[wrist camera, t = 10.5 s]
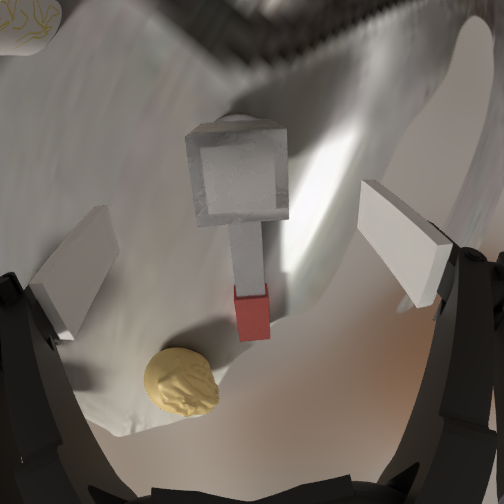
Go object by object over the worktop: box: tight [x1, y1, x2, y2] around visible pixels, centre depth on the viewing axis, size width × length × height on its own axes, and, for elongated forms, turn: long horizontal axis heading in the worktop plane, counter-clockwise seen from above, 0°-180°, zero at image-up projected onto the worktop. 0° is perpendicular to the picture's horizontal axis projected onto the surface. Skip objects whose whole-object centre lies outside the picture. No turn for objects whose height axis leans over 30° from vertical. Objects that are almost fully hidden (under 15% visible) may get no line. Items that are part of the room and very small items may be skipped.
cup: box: [0, 0, 62, 55], centre depth 12 cm, size 8×8×12 cm
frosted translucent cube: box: [185, 118, 289, 227], centre depth 23 cm, size 7×7×9 cm
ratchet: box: [214, 113, 270, 342], centre depth 31 cm, size 30×8×8 cm, turn 4°
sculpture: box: [144, 347, 219, 417], centre depth 42 cm, size 11×12×11 cm
